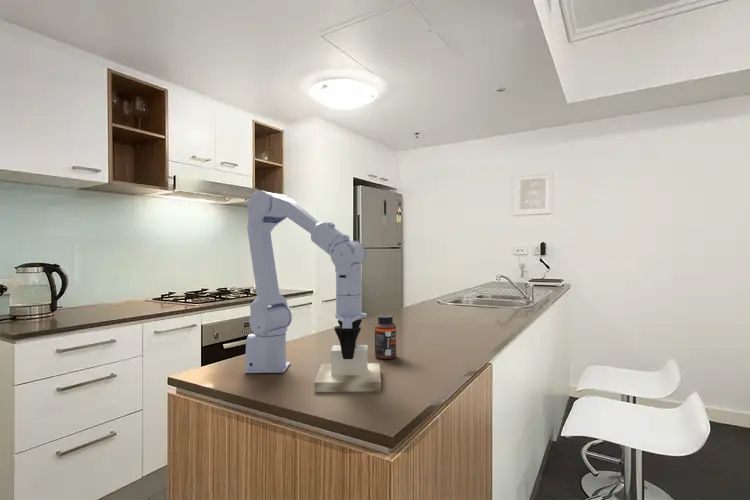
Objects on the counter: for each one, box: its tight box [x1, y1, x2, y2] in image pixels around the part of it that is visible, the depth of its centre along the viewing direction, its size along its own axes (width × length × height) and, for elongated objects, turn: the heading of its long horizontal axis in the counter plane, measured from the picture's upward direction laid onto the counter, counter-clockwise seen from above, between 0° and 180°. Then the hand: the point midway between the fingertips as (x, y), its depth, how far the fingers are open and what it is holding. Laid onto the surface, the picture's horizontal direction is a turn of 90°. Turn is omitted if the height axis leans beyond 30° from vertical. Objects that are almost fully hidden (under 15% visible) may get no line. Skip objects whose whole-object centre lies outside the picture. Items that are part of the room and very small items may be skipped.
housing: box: [330, 344, 369, 376], centre depth 93 cm, size 8×5×6 cm, turn 91°
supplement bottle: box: [374, 314, 397, 360], centre depth 113 cm, size 6×6×11 cm
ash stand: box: [313, 362, 382, 393], centre depth 93 cm, size 14×14×2 cm
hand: (348, 354), depth 93 cm, fingers open, 7 cm apart
